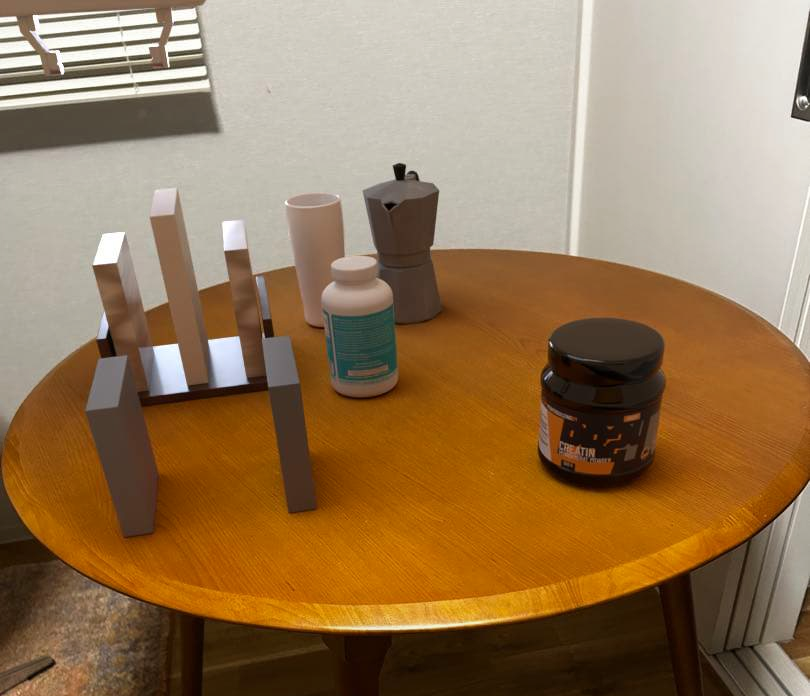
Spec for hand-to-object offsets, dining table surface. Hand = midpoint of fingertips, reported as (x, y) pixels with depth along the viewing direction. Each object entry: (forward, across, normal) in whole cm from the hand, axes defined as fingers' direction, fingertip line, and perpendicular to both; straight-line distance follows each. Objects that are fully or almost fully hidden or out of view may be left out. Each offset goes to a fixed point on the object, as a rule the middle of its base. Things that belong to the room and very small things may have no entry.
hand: (108, 71), depth 77 cm
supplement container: (+31, -38, +28) cm, 57 cm away
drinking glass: (+31, -19, -14) cm, 39 cm away
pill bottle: (+31, -21, +6) cm, 38 cm away
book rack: (+31, -3, -3) cm, 31 cm away
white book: (+30, -3, -3) cm, 30 cm away
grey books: (+31, -4, +24) cm, 40 cm away
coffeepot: (+31, -30, -15) cm, 45 cm away
